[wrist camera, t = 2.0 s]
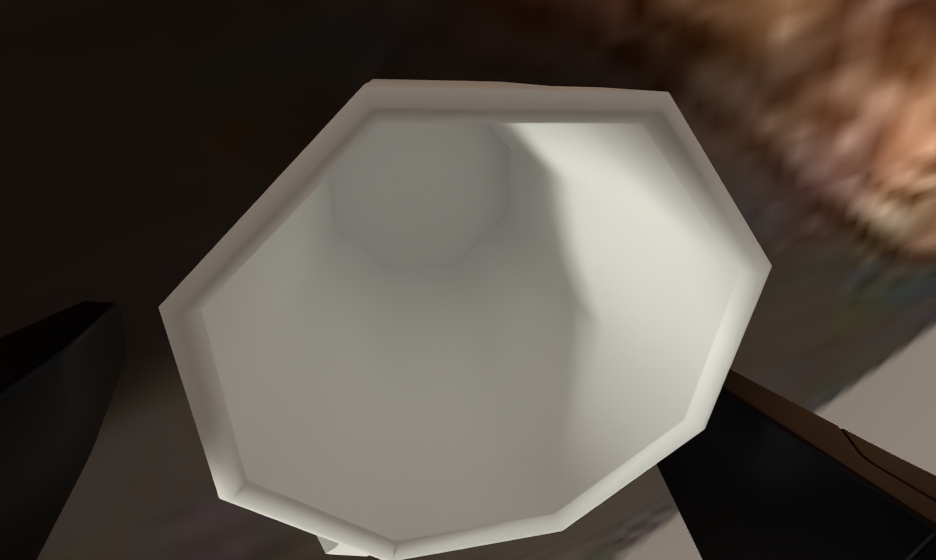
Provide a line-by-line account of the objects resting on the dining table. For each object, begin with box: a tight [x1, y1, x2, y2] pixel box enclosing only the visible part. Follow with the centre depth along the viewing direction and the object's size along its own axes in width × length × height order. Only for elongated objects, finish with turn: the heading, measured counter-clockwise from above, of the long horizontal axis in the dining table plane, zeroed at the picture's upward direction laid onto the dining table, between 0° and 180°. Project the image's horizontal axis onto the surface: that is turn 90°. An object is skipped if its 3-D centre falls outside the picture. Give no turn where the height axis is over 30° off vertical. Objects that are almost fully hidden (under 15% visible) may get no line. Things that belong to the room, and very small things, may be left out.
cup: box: [159, 79, 772, 560], centre depth 10 cm, size 7×10×8 cm
